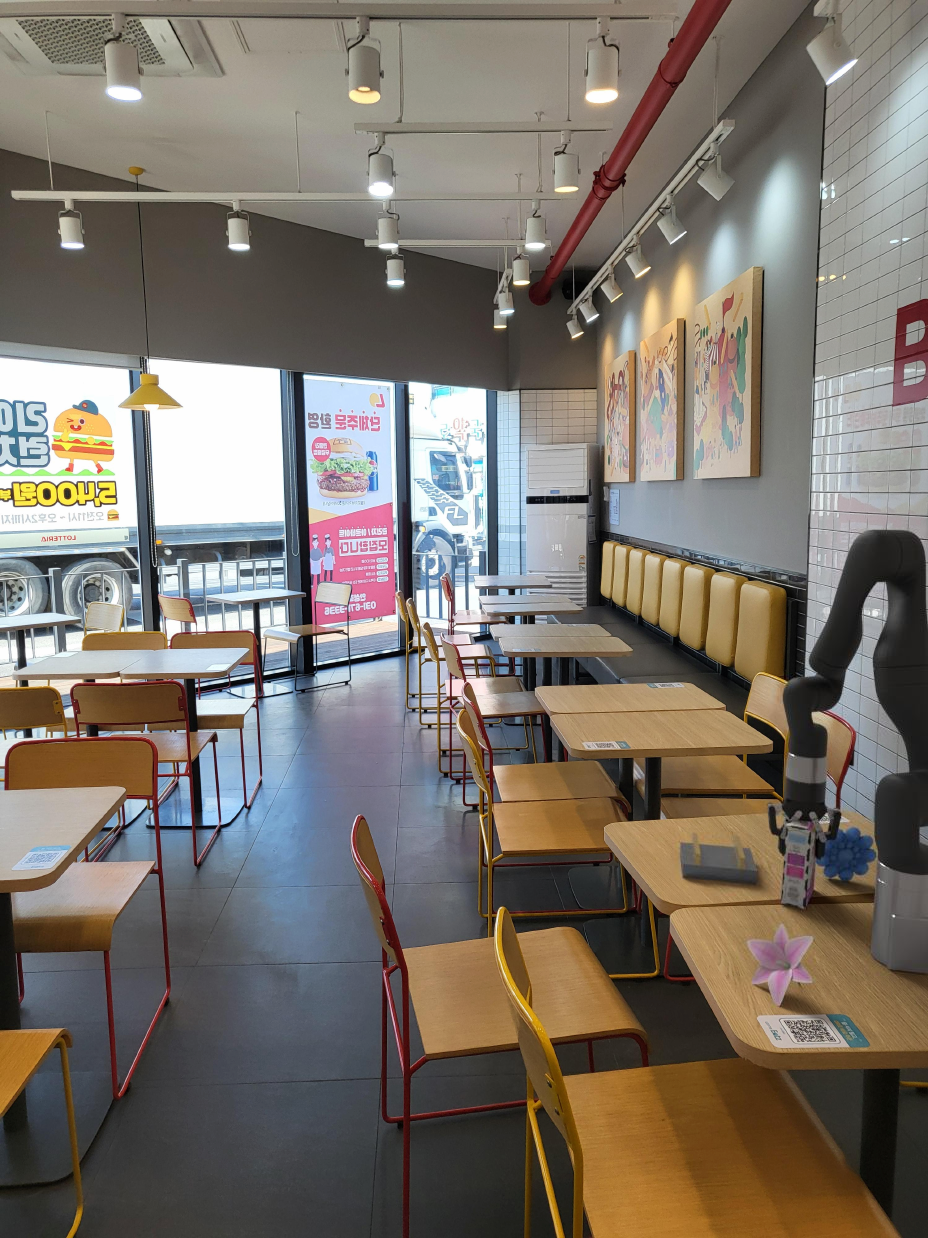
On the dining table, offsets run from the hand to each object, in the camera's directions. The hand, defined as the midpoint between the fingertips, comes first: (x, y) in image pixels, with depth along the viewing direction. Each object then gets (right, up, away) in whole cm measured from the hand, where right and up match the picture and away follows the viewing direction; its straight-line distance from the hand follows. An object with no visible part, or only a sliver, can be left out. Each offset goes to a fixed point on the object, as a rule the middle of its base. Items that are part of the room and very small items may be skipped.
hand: (800, 856), depth 166 cm
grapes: (+13, -8, +9) cm, 18 cm away
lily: (-16, -13, -31) cm, 38 cm away
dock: (-13, -7, +14) cm, 20 cm away
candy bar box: (0, -9, +1) cm, 9 cm away
